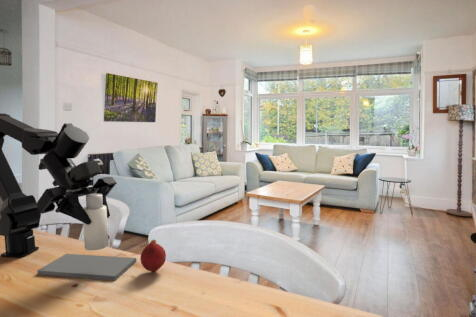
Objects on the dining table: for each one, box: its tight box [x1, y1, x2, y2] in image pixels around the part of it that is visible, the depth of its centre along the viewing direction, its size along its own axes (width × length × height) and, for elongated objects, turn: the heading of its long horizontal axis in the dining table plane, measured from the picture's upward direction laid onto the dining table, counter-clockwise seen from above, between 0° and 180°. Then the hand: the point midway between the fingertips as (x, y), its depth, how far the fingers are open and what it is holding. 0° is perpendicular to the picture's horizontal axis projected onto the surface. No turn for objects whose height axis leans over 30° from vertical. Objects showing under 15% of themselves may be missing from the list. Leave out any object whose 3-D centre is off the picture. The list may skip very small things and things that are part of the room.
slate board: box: [36, 253, 137, 281], centre depth 79 cm, size 20×10×1 cm, turn 81°
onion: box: [139, 238, 167, 273], centre depth 76 cm, size 6×6×8 cm
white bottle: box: [82, 194, 109, 251], centre depth 76 cm, size 5×5×12 cm
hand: (99, 220), depth 75 cm, fingers closed on white bottle, 5 cm apart
